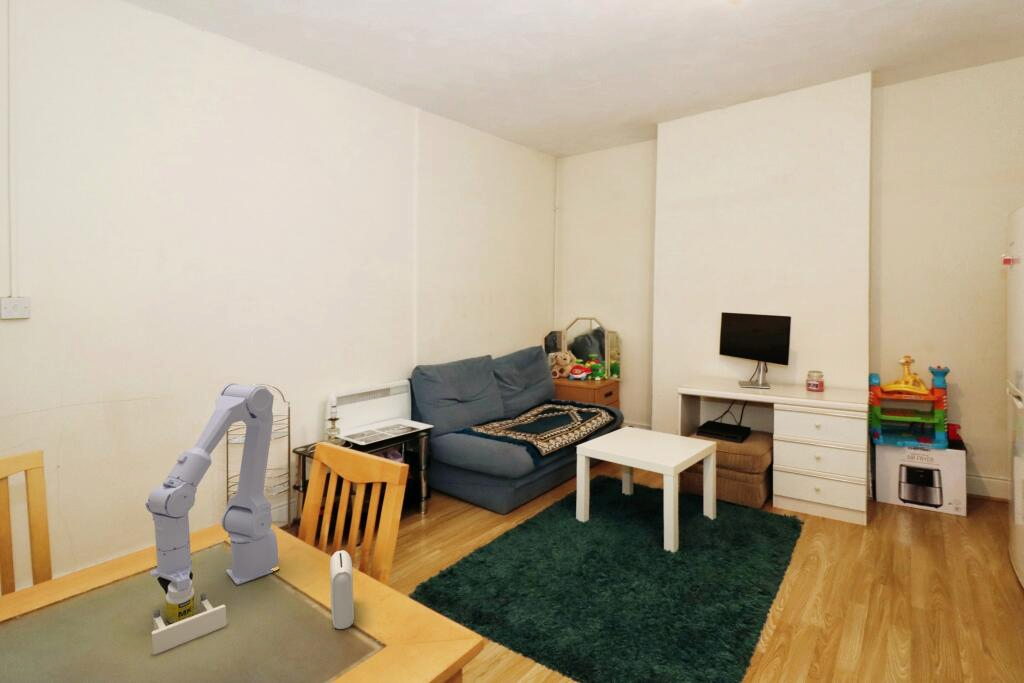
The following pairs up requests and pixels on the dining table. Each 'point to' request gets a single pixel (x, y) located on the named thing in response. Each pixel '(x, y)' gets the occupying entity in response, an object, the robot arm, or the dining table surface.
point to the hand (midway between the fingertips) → (177, 608)
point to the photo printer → (341, 590)
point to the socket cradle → (187, 626)
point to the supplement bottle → (179, 603)
